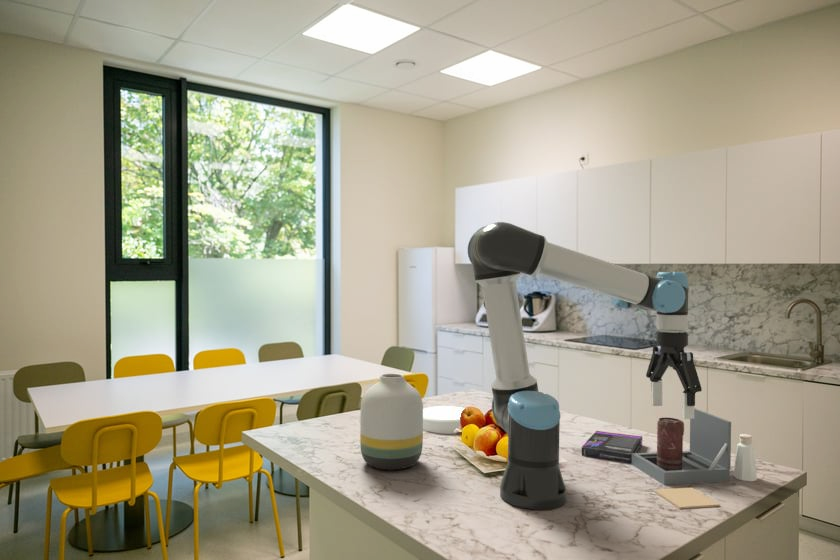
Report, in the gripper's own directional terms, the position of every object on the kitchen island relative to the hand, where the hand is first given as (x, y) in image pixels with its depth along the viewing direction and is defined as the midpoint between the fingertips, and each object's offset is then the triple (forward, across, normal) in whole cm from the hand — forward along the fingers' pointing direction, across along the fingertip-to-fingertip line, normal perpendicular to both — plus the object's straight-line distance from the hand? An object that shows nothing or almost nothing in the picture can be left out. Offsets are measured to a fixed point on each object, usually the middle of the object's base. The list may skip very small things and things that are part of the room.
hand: (671, 411), depth 147 cm
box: (+17, +20, +6) cm, 27 cm away
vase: (+15, +17, +72) cm, 76 cm away
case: (+16, 0, -2) cm, 16 cm away
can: (+16, 0, 0) cm, 16 cm away
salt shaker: (+16, -6, -17) cm, 24 cm away
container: (+16, +53, +49) cm, 74 cm away
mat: (+16, -16, +7) cm, 24 cm away
